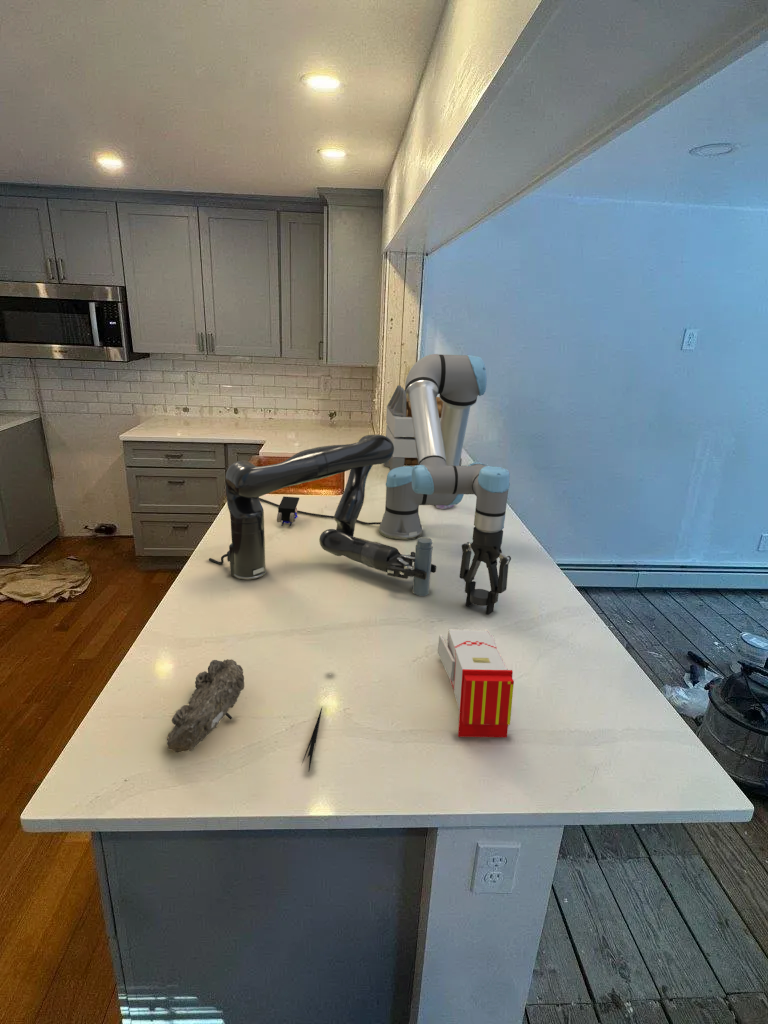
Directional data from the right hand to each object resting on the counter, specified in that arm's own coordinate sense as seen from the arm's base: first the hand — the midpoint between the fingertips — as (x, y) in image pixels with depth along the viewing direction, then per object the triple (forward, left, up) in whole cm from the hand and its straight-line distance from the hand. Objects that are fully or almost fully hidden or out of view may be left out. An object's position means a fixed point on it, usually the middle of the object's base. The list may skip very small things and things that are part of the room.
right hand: (479, 608), depth 152 cm
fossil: (-3, -74, 0) cm, 74 cm away
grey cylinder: (-16, -6, 0) cm, 17 cm away
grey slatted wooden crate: (-105, +79, 0) cm, 131 cm away
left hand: (-14, -5, +7) cm, 16 cm away
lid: (0, 0, +4) cm, 4 cm away
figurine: (-64, +54, 0) cm, 84 cm away
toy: (+22, -29, 0) cm, 36 cm away
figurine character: (-84, -7, 0) cm, 84 cm away
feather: (+10, -58, 0) cm, 59 cm away
